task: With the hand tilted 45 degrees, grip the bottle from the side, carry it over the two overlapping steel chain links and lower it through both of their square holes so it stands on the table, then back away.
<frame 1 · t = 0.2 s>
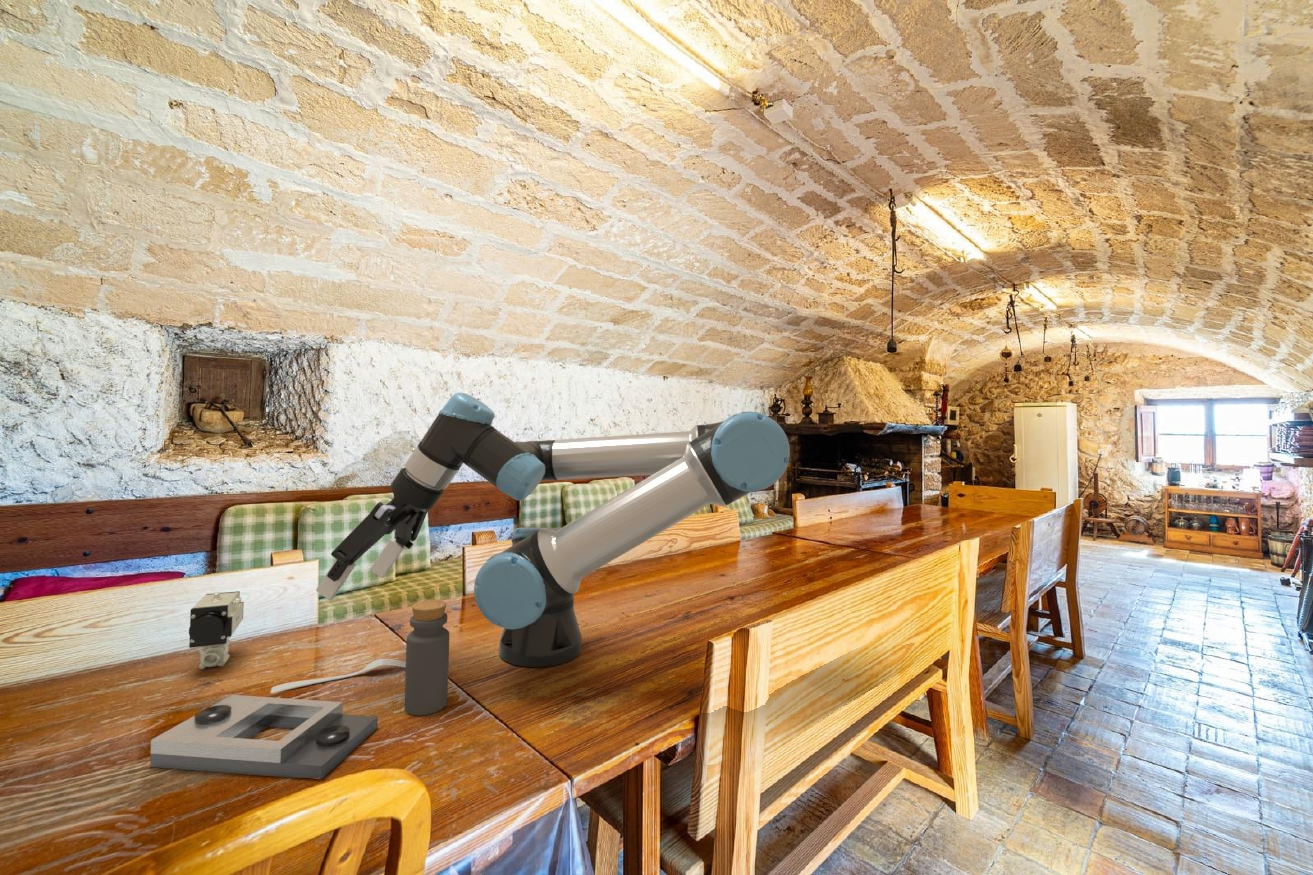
hand: (352, 583, 88), 15 cm above the table, tool tilted 35°, fingers open, 13 cm apart
pneumatic valve: (217, 664, 90), on the table
bottle: (426, 707, 78), on the table
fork: (346, 681, 86), on the table
chain link ends: (271, 746, 67), on the table
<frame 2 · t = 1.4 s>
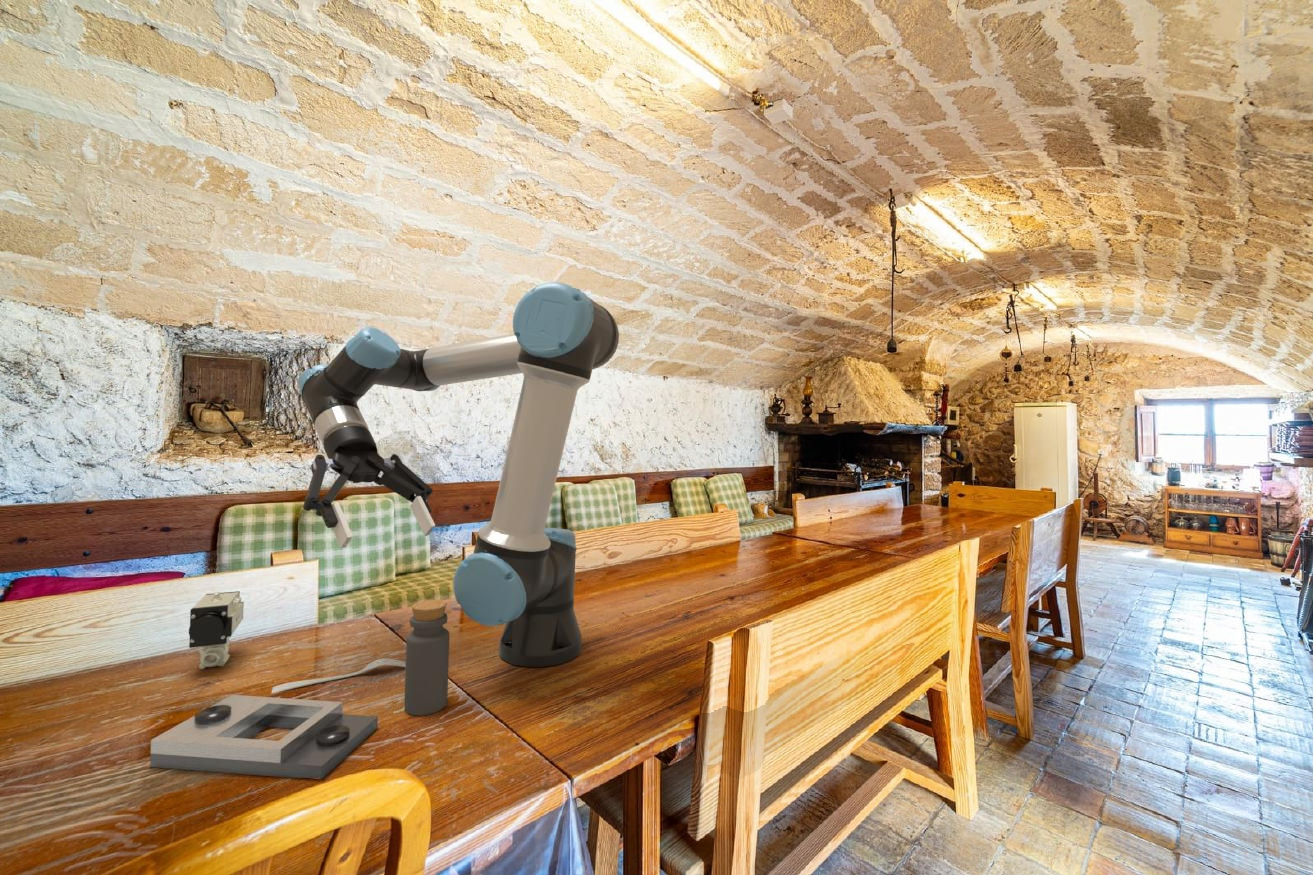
hand: (391, 536, 84), 24 cm above the table, tool tilted 45°, fingers open, 13 cm apart
nothing on the table moved.
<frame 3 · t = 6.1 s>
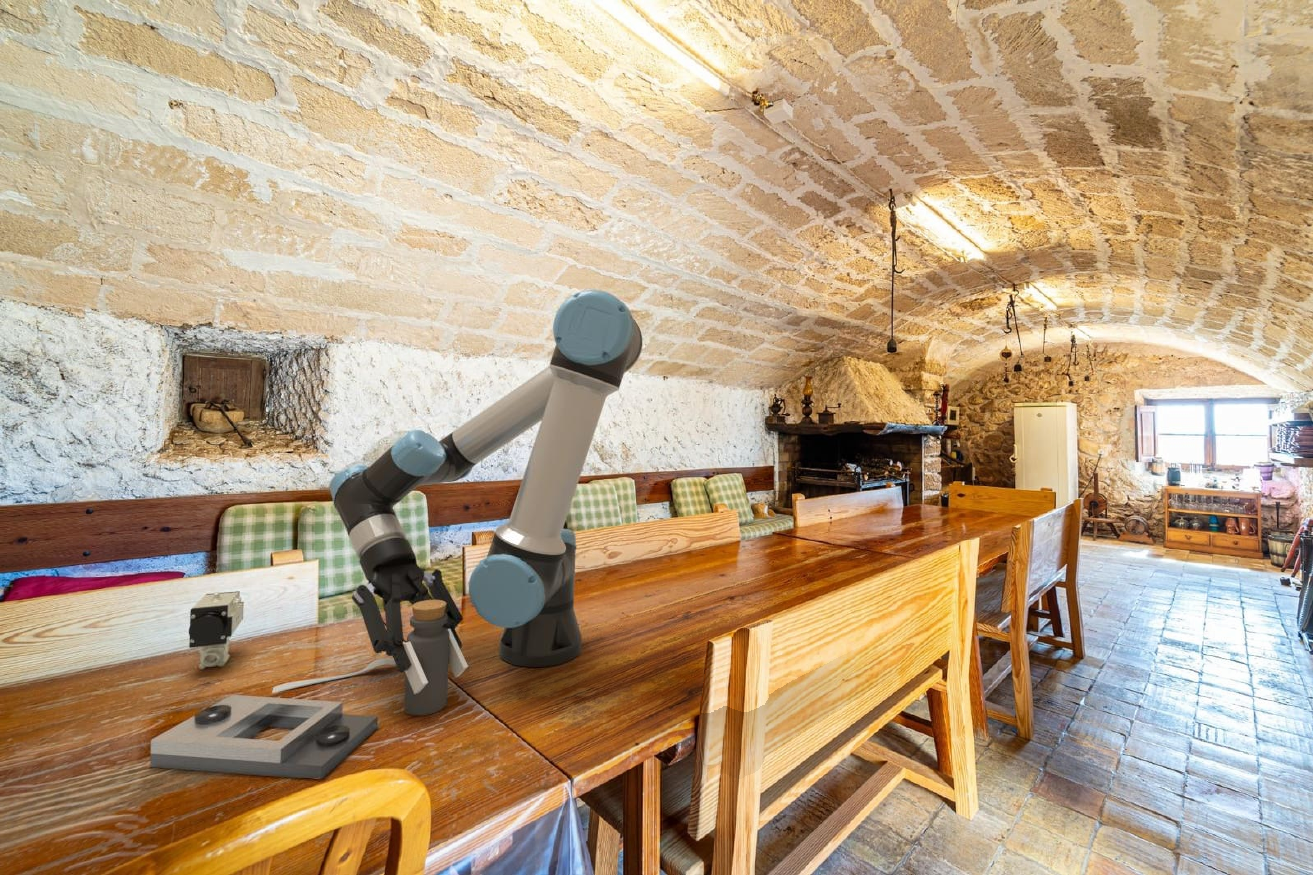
hand: (442, 679, 76), 5 cm above the table, tool tilted 45°, fingers closed on bottle, 6 cm apart
bottle: (425, 707, 78), on the table, touching gripper
everything else where it was.
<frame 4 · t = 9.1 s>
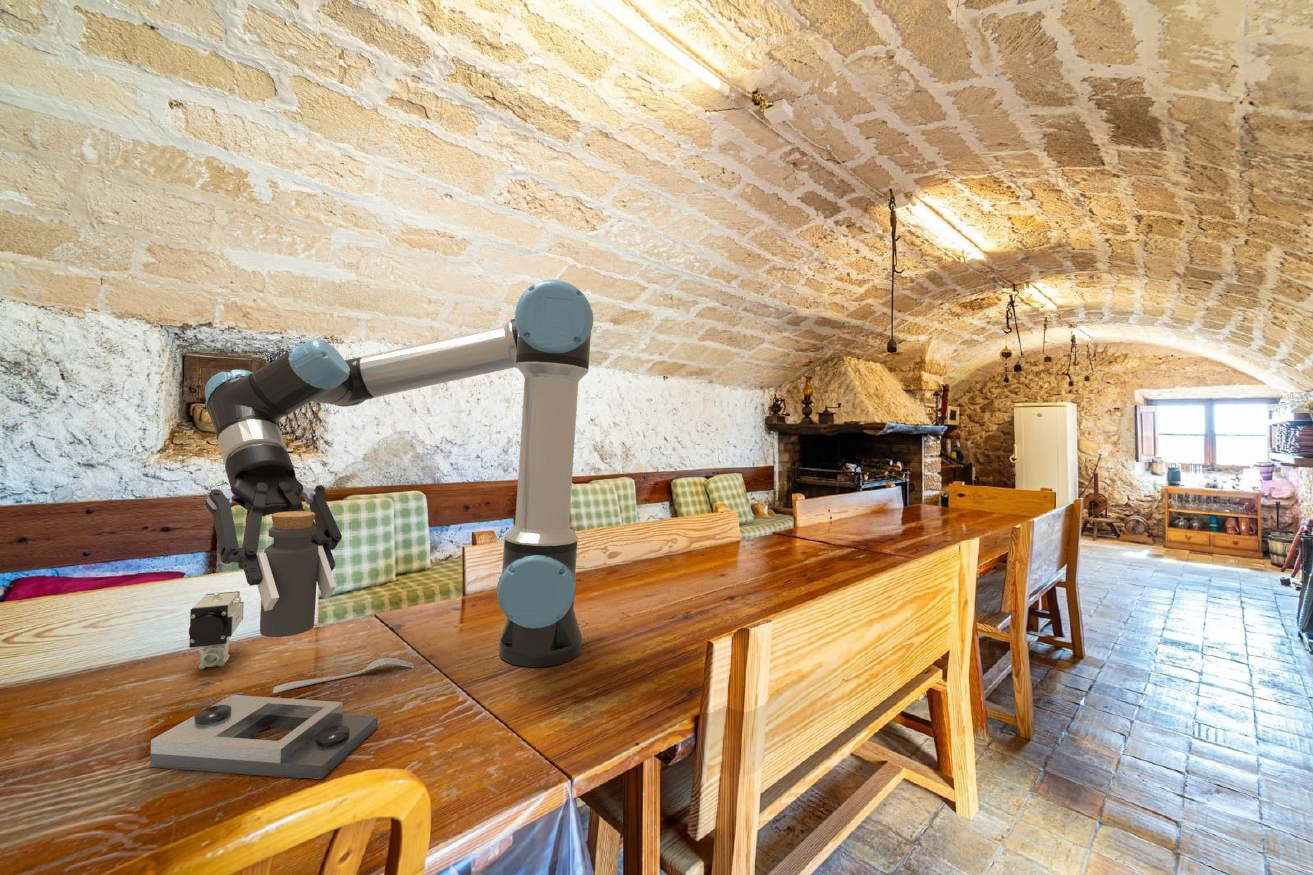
hand: (302, 598, 67), 19 cm above the table, tool tilted 45°, fingers closed on bottle, 6 cm apart
bottle: (287, 630, 69), point 14 cm above the table, touching gripper
everything else where it was.
when the fingers open (6 cm above the table, at t = 12.5 s): bottle drops 1 cm, resting in chain link ends.
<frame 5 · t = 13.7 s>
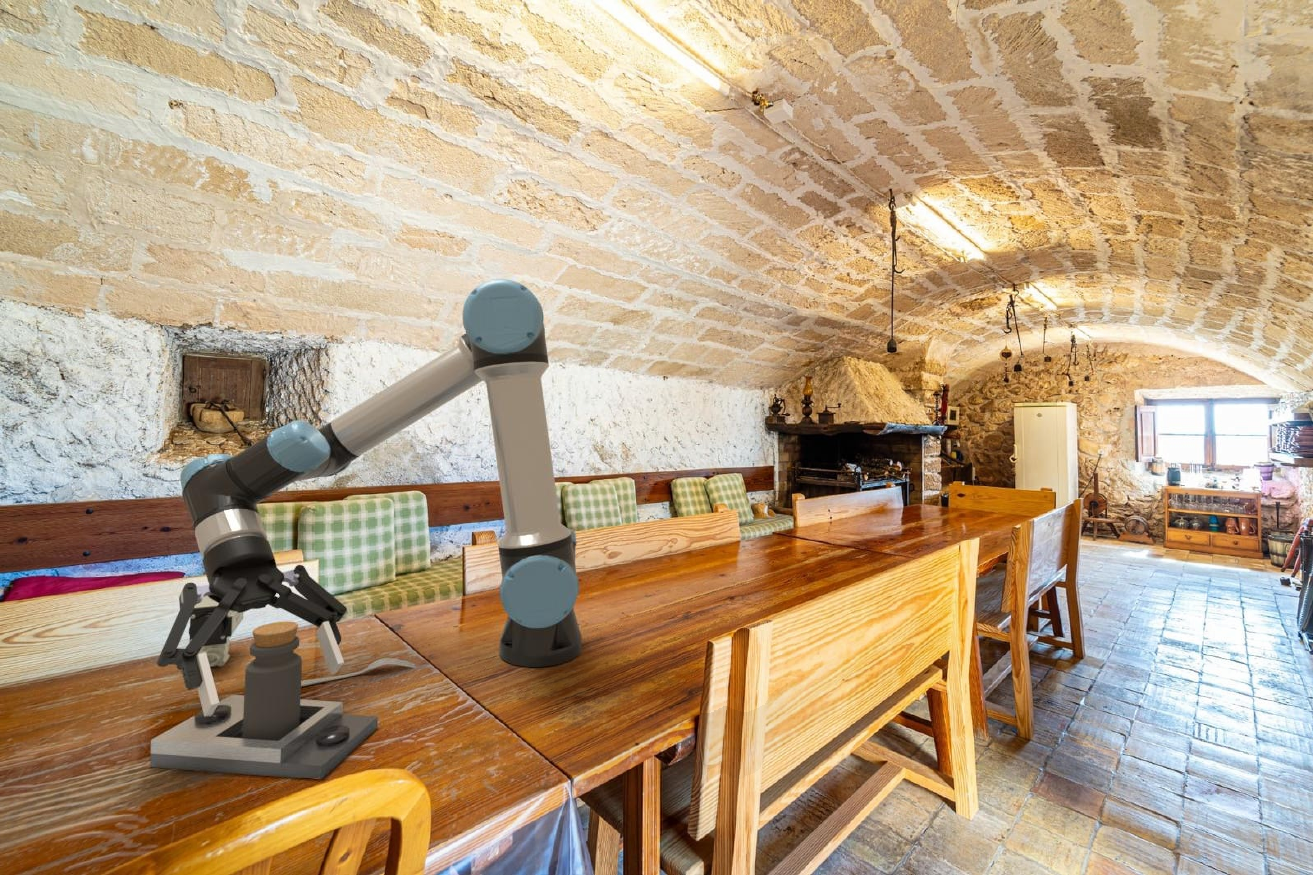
hand: (280, 687, 66), 8 cm above the table, tool tilted 45°, fingers open, 13 cm apart
bottle: (270, 747, 67), resting in chain link ends
everything else where it was.
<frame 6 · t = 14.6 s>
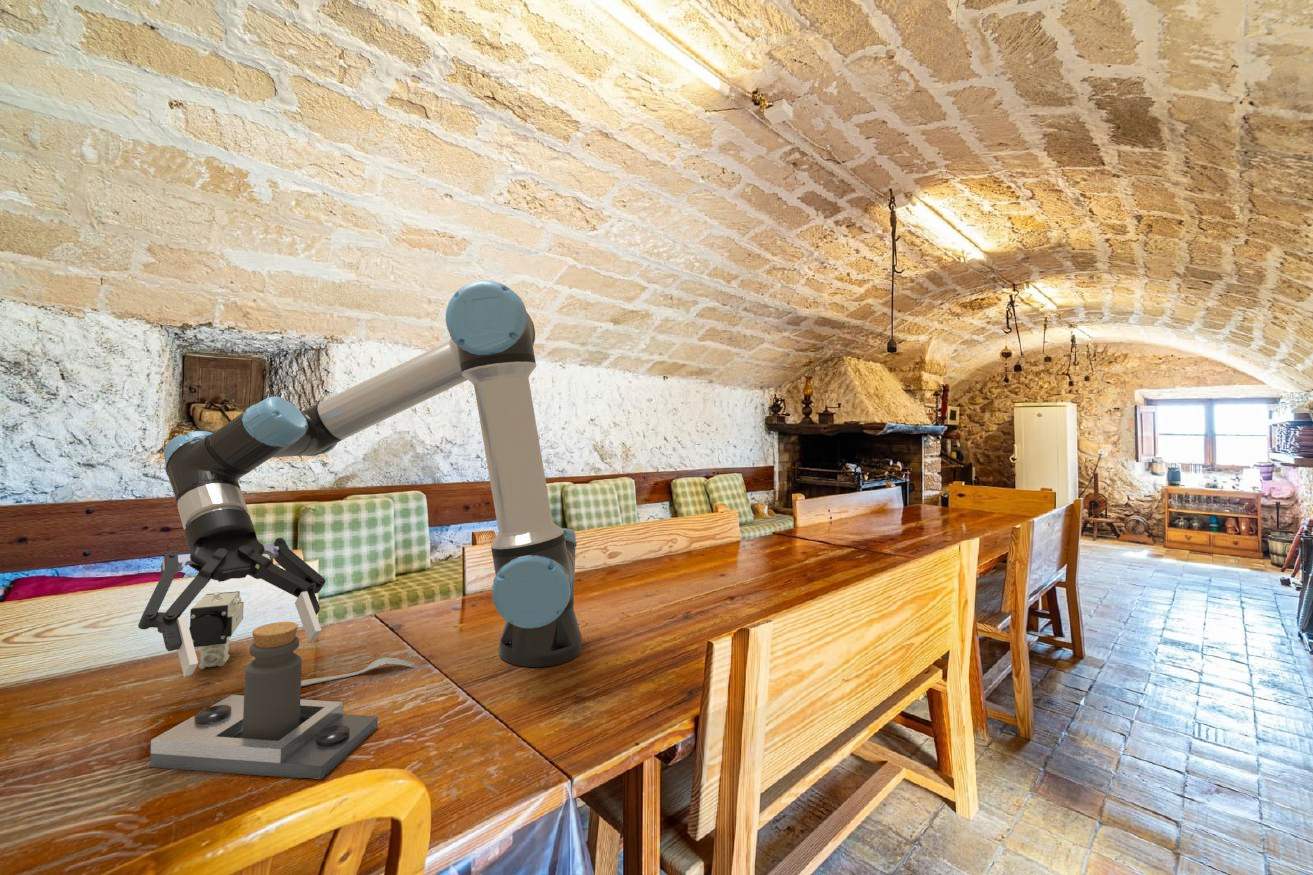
hand: (258, 652, 69), 11 cm above the table, tool tilted 45°, fingers open, 13 cm apart
nothing on the table moved.
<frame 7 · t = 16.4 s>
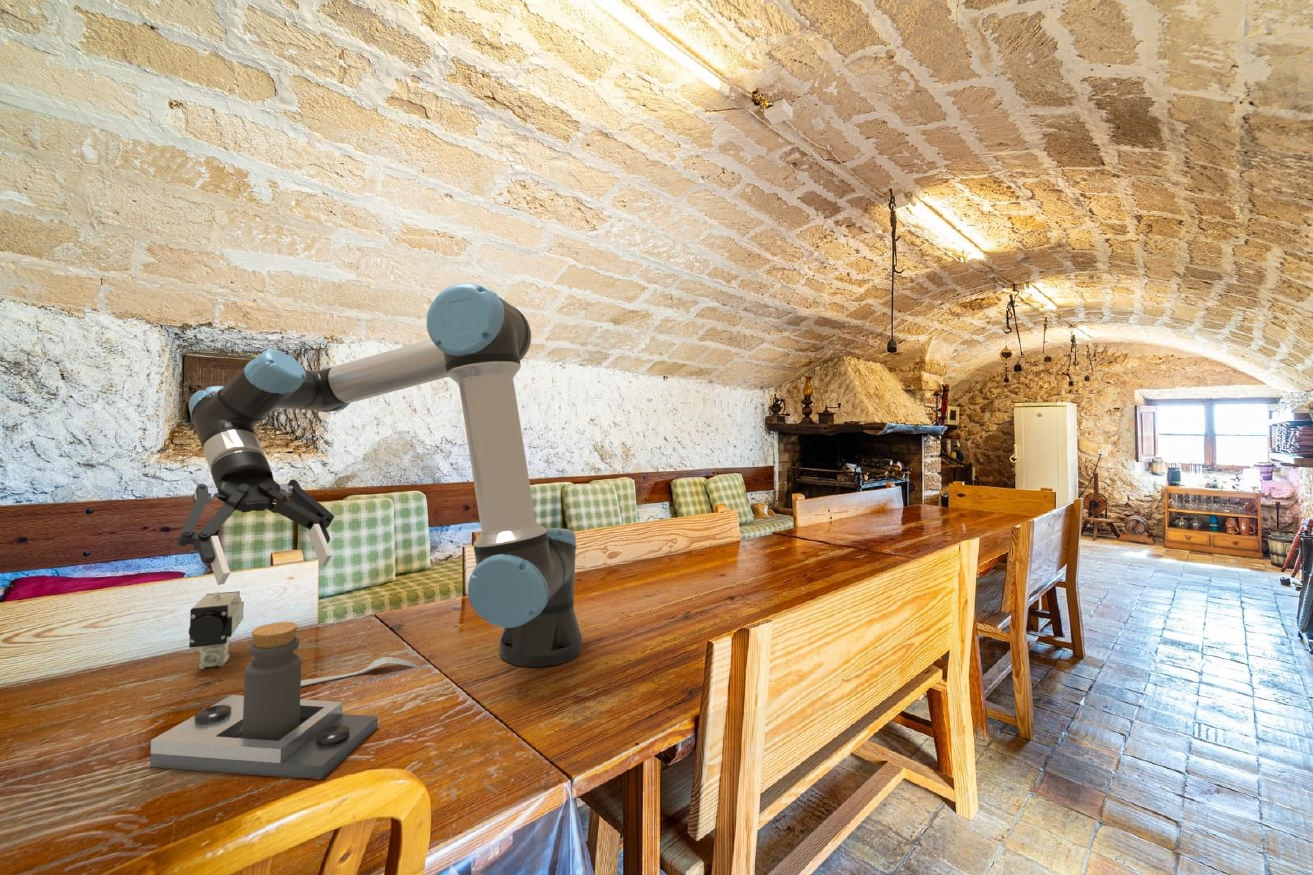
hand: (279, 569, 80), 19 cm above the table, tool tilted 45°, fingers open, 13 cm apart
nothing on the table moved.
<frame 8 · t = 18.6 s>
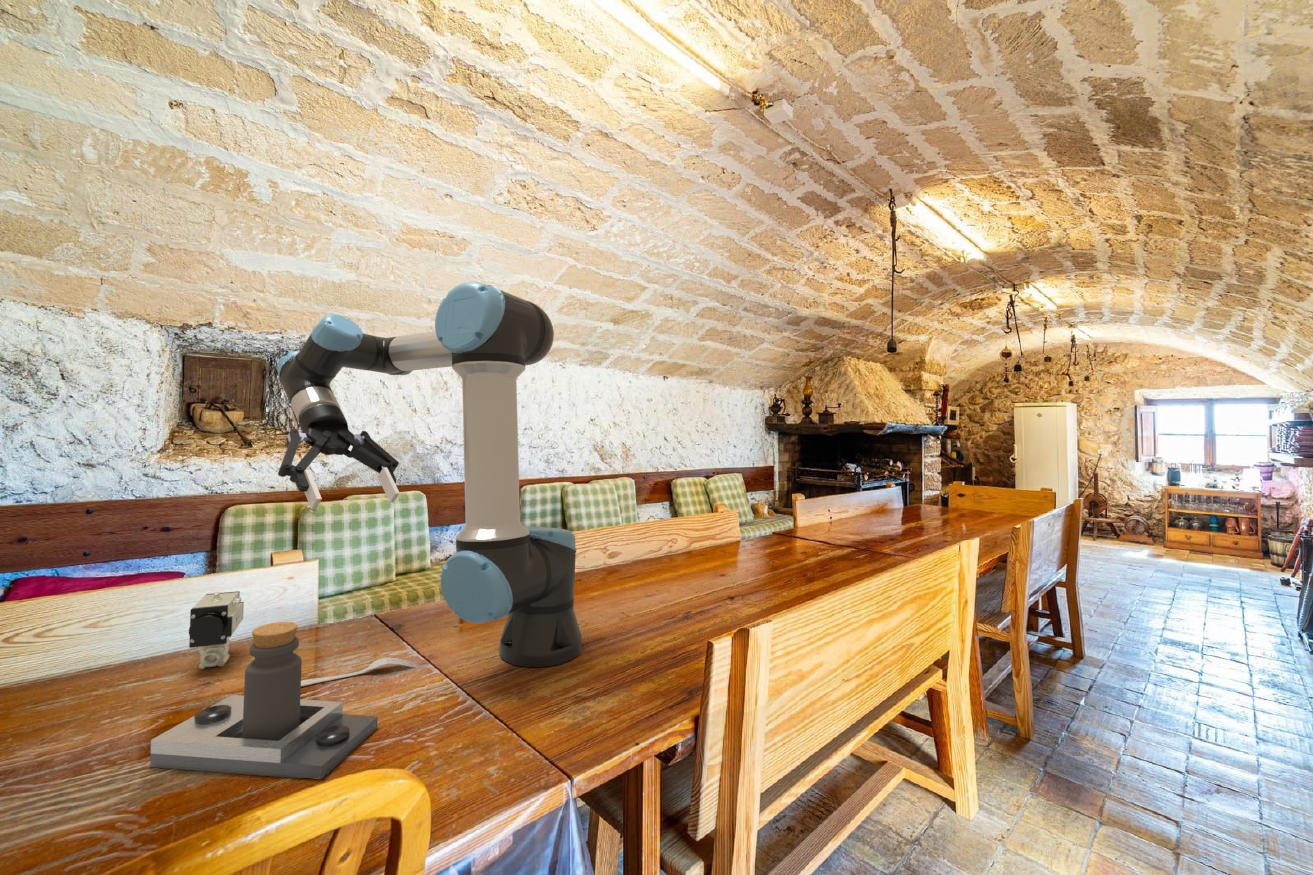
hand: (358, 501, 94), 28 cm above the table, tool tilted 45°, fingers open, 13 cm apart
nothing on the table moved.
at the end: bottle 0.1 cm off-centre on the chain link ends, point 0.0 cm above the chain link ends's base; bottle tilted 0°; the gripper is holding nothing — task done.
